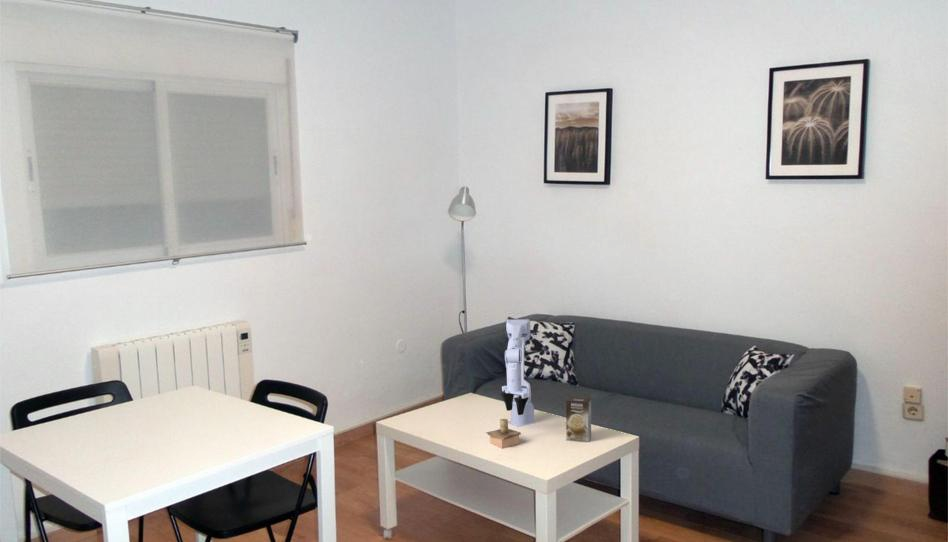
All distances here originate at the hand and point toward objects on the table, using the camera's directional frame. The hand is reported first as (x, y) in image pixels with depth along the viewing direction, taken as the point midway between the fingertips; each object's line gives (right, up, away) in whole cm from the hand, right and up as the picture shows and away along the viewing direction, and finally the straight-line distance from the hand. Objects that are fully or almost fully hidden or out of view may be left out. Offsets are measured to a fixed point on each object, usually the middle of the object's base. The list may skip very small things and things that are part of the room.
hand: (514, 412), depth 303 cm
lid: (-5, -7, -7) cm, 11 cm away
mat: (-5, -10, +6) cm, 13 cm away
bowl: (-4, -11, -7) cm, 14 cm away
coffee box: (+25, -10, -2) cm, 27 cm away
